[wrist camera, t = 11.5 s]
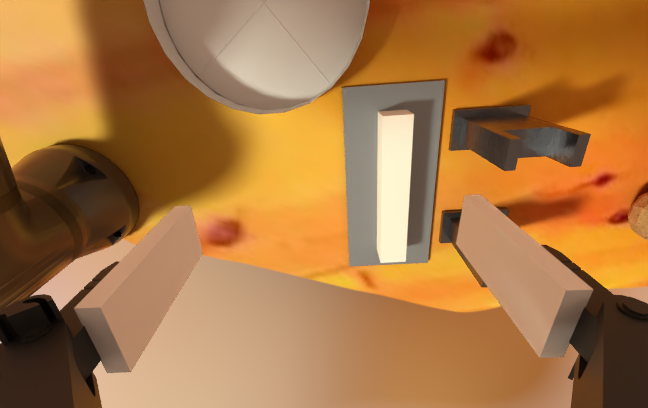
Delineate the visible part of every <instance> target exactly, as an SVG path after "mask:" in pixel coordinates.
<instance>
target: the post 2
mask: <svg viewBox="0 0 648 408" xmlns="http://www.w3.org/2000/svg"><path fill="white" fill-rule="evenodd" d="M530 107H531V105H515V106H500V107H486V108H471V109H457V110H453V115H452V124H451V133H450V143H449V150H450V151H454V150H472V151H474V152H475V153H477V154H478V155H480V156H482V157H483V158H485V159H486V160H488V161H489V162H491V163H493V164H494V165H496V166H497V167H499V168H501V169H502V170H504V171H510V170H515V169H516V164H517V159H518V158H525V157H541V156H546V157H549V158H551V159H553V160H555V161H558V162H560V163H562V164H564V165H567V166H569V167H577V166H581V164H582V161H583V158H584V154H585V151H586V148H587V145H588V141H589V138H590V135H591V134H588V133H585V132H581V131H578V130H574V129H571V128H567V127H564V126H560V125H557V124H553V123H549V122H546V121H542V120H539V119H535V118H532V117H529V112H530Z"/></svg>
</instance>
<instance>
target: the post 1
mask: <svg viewBox="0 0 648 408" xmlns="http://www.w3.org/2000/svg"><path fill="white" fill-rule="evenodd" d="M497 209H499V210H500V211H501V212H502V213H503V214H504V215H506V216H508V211H509V209H508V208H497ZM461 213H462V210H454V211H442V216H441V226H440V235H439V242H440V243H452V244H453V246H454V247H455V249H456V250H457V251H458V253H459V254H460V256H461V257H462V259H463V260H464V262H465V263H466V265H467V266H468V268H469V269H470V271H471V272H472V274H473V275H474V277H475V278H476V280H477V281H478V283H479V284H480V286H481V287H487V285H486V284H485V283H484V281H483V280H482V279H481V277H480V276H479V275H478V273H477V272H476V270H475V269H474V268H473V266H472V265H471V264H470V262H469V261H468V260H467V258H466V257H465V255H464V254H463V253H462V251H461V250H460V249H459V247H458V246H457V245H456V241H457V235H458V230H459V224H460V218H461Z"/></svg>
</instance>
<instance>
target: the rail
mask: <svg viewBox="0 0 648 408" xmlns="http://www.w3.org/2000/svg"><path fill="white" fill-rule="evenodd" d="M413 123H414V114H413V113H411V112H410V111H408V110H392V111H378V152H377V251H378V255H379V259H380V263H389V262H406V248H407V230H408V212H409V195H410V177H411V159H412V141H413Z"/></svg>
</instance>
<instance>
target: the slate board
mask: <svg viewBox="0 0 648 408" xmlns="http://www.w3.org/2000/svg"><path fill="white" fill-rule="evenodd" d="M444 85H445V80H437V81H423V82H410V83H396V84H382V85H369V86H355V87H342V96H343V121H344V145H345V170H346V194H347V218H348V243H349V266H368V265H389V264H410V263H428V256H429V245H430V235H431V224H432V213H433V203H434V192H435V181H436V171H437V160H438V149H439V139H440V128H441V117H442V107H443V96H444ZM392 110H408V111H410V112H411V113H413V114H414V123H413V141H412V159H411V177H410V195H409V212H408V230H407V248H406V262H389V263H380V259H379V255H378V251H377V152H378V111H392Z"/></svg>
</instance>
